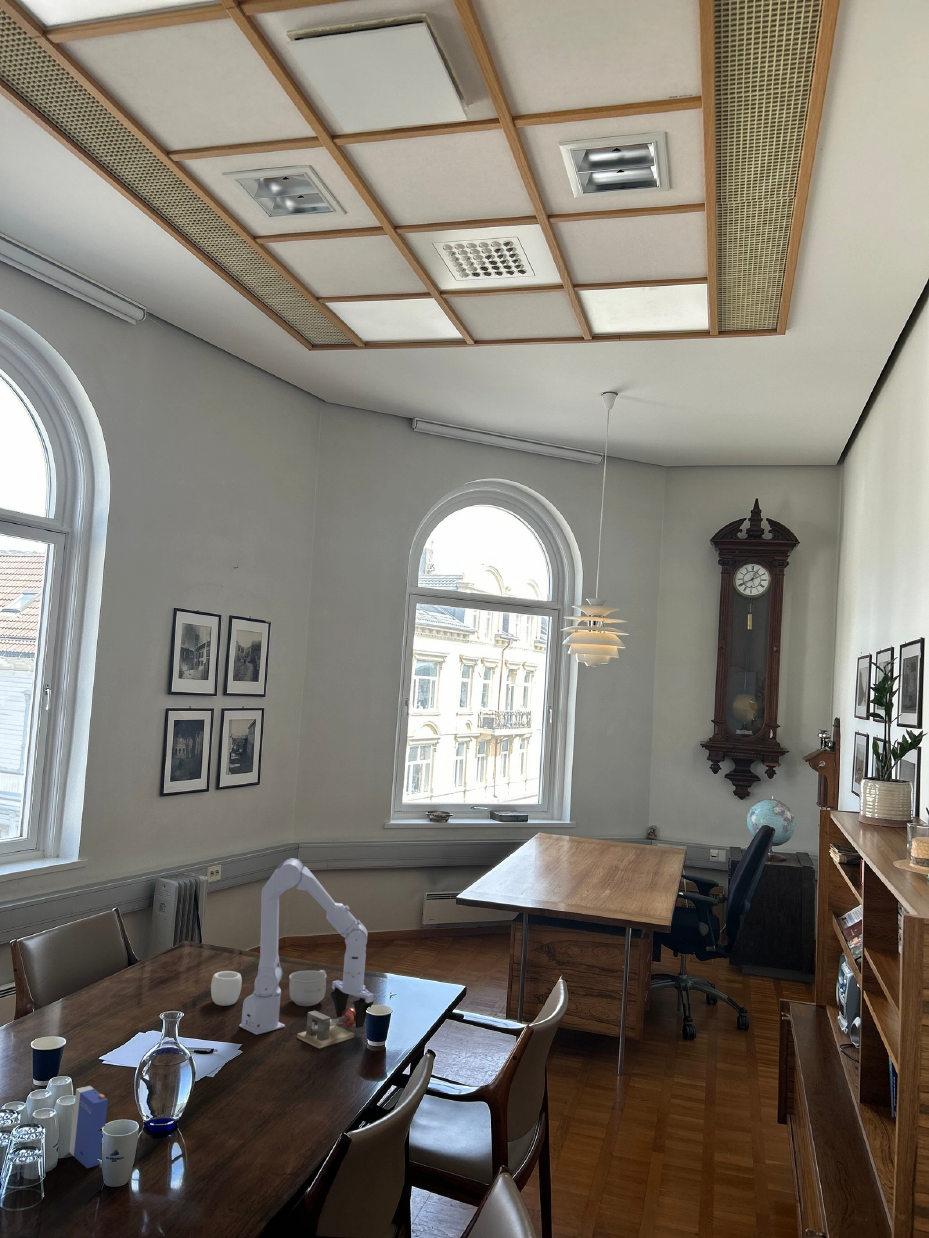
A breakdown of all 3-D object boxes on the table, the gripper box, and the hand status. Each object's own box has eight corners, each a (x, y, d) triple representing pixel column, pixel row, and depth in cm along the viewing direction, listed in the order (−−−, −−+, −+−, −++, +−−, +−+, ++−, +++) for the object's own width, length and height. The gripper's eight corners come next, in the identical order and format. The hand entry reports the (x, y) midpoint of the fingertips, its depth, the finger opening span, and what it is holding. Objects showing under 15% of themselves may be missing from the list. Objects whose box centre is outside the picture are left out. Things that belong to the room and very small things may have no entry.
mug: (239, 1007, 254) (242, 979, 255) (208, 1008, 252) (211, 979, 253) (240, 993, 266) (242, 966, 266) (210, 993, 264) (213, 966, 264)
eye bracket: (319, 1048, 229) (321, 1022, 230) (297, 1037, 235) (299, 1012, 236) (354, 1037, 238) (356, 1012, 239) (332, 1027, 244) (334, 1003, 245)
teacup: (304, 1012, 254) (307, 983, 255) (279, 1002, 261) (281, 973, 262) (339, 1001, 265) (342, 973, 266) (314, 991, 272) (316, 964, 273)
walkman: (101, 1163, 168) (108, 1097, 169) (87, 1168, 166) (93, 1101, 167) (83, 1147, 174) (90, 1082, 175) (68, 1151, 172) (75, 1086, 173)
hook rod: (317, 1040, 232) (319, 1021, 232) (306, 1034, 235) (307, 1016, 235) (358, 1027, 242) (359, 1010, 243) (346, 1022, 245) (348, 1005, 246)
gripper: (383, 975, 242) (379, 1027, 241) (347, 961, 252) (343, 1011, 251) (363, 980, 237) (359, 1033, 236) (328, 966, 247) (323, 1017, 246)
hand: (349, 1022), depth 243 cm, fingers open, 7 cm apart
